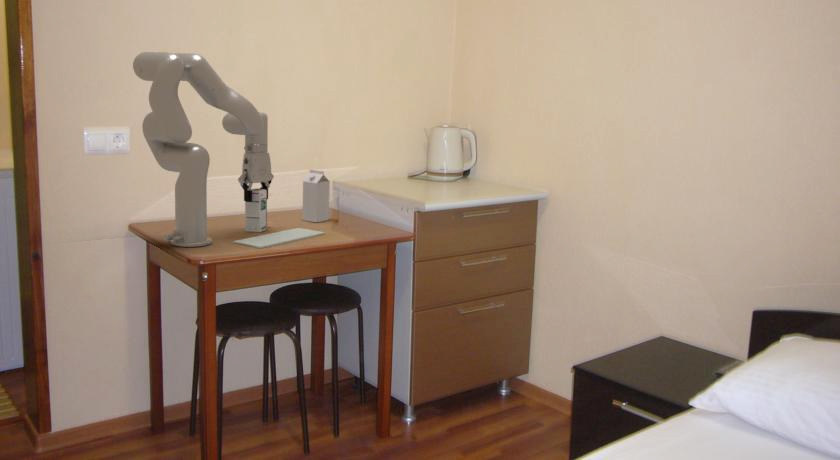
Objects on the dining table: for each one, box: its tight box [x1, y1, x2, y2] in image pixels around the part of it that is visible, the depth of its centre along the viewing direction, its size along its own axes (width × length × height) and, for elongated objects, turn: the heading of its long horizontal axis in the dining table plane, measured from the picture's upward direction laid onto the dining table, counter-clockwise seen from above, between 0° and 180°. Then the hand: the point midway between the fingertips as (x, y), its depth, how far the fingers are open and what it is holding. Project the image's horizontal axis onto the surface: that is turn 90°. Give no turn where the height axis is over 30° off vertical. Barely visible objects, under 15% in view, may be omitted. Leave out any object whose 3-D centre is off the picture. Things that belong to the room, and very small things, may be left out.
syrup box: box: [244, 188, 268, 233], centre depth 268 cm, size 6×6×14 cm
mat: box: [232, 227, 326, 249], centre depth 258 cm, size 32×12×1 cm, turn 148°
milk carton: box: [302, 169, 331, 223], centre depth 292 cm, size 7×7×19 cm
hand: (256, 199), depth 267 cm, fingers closed on syrup box, 7 cm apart
